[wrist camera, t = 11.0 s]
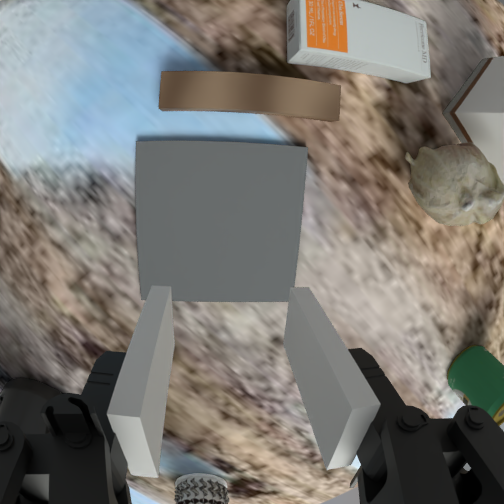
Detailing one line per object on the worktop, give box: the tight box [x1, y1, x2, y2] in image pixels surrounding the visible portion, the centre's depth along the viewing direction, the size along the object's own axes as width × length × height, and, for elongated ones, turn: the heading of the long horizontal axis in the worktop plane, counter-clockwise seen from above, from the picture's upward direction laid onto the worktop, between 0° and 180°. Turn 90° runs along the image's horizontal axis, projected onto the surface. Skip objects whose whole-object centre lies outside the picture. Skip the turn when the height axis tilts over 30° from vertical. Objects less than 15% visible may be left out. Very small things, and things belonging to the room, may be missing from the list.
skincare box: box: [287, 0, 431, 83], centre depth 21 cm, size 6×4×12 cm
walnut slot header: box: [159, 71, 341, 122], centre depth 21 cm, size 14×15×2 cm
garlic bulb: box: [405, 142, 504, 226], centre depth 23 cm, size 10×8×10 cm
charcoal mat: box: [136, 141, 308, 302], centre depth 26 cm, size 14×14×1 cm
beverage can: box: [447, 345, 504, 426], centre depth 32 cm, size 8×8×12 cm
